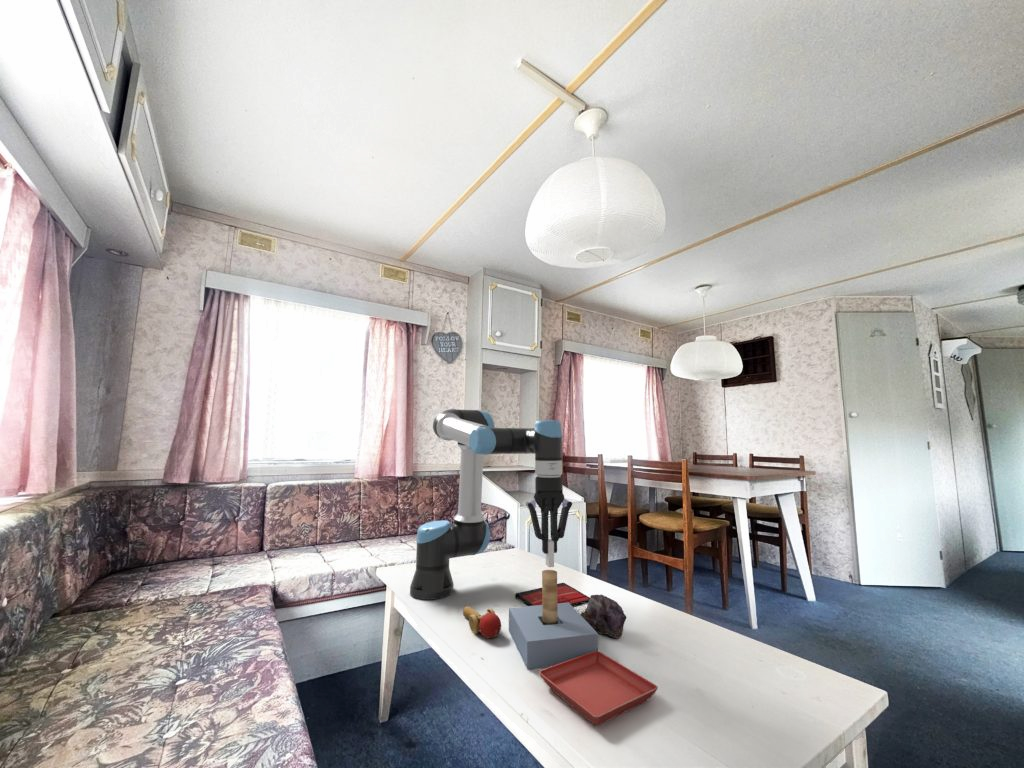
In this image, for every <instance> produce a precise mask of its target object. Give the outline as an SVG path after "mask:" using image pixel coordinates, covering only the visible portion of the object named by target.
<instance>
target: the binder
mask: <svg viewBox="0 0 1024 768" xmlns="http://www.w3.org/2000/svg"><path fill="white" fill-rule="evenodd" d="M514 595H515V596H514V598H515V599H522V600H523V601H524V602H522V603H523V604H524V605H526V606H535V605H542V587H538V588H534V589H529V590H523V591H521V592H516V593H515V594H514ZM589 599H590V596H588V595H587V594H584V593H583V592H581V591H580V590H578V589H576V588H574V587H573V586H570V585H569V584H567V583H565V582H559V583H557V603H568V602H569V603H570V604H571V605H572V607H574V606H576V605H581V604H588V602H589Z"/></svg>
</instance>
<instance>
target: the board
mask: <svg viewBox="0 0 1024 768" xmlns="http://www.w3.org/2000/svg"><path fill="white" fill-rule="evenodd" d="M557 606H558V624H552V625H543V622H542V605H535V606H527V605H526V606H525V605H524V606H515V607H509V608H508V632H509V634H510V636H511V638H512V640H513V643H514V644H515V646H516V648H517V651H518V653H519V655H520V657H521V659H522V661H523V663H524V665H525V668H526V669H527V670H531V669H539V668H541V669H542V668H549V667H551V666H554V665H557V664H560V663H562V662H565V661H568V660H571V659H574V658H576V657H579V656H582V655H585V654H588V653H590V652H593V651H599V632H596V631H595V630H594V629H593V628H592V627H591V626H590V625H589V624H588V622H587V621H586V620H585V619H584V618H583V617H582V616H581V613H579V612H578V611H577V610H576V609H575V608H574V606H572V605H571V604H570V603H569V602H568V603H557Z"/></svg>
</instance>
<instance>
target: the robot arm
mask: <svg viewBox="0 0 1024 768" xmlns="http://www.w3.org/2000/svg"><path fill="white" fill-rule="evenodd" d="M433 419H434V420H433V422H432V429H433V433H434V434H435V435H436V436H437V437H438V438H439V439H441V440H444V441H447V442H450V441H454V442H457V446H458V447H459V448H460V467H459V468H460V469H459V486H458V487H459V489H458V505H457V506H458V508H457V510H458V511H457V514H456V515H454V516H453V523H451V522H450V521H449V520H444V519H442V520H432V521H429V522H426V523H424V524H422V525H420V526H419V527H418V529H417V532H416V533H417V536H416V539H415V541H416V551H415V553H416V558H415V559H416V560H415V561H416V562H415V570H414V571H415V572H414V575H413V578H412V580H411V582H410V586H409V588H410V589H409V594H410V596H411V597H412V598H415V599H418V600H438V599H442V598H446V597H448V596H450V595H452V594H453V593H454V589H455V588H454V587H455V586H454V580H453V577H452V573H451V571H450V559H454V558H460V557H461V558H462V557H466V556H475V555H478V554H481V553H483V552H484V551H486V550H487V548H488V546H489V543H490V539H491V531H490V525H489V524H488V522H487V521H486V520H485V517H484V515H482V498H483V497H482V495H483V493H482V492H483V475H484V474H483V471H484V456H487V455H508V454H509V455H510V454H513V455H516V454H517V455H518V454H525V455H528V454H529V455H531V454H534V456H535V457H534V460H535V463H534V471H535V472H534V473H535V475H536V477H535V478H534V479H535V481H534V483H535V485H534V488H535V491H534V492H535V493H534V495H533V498H532V499H531V500H530V501H527V502H525V506H526V507H527V509H528V510H529V514H530V518H531V523H532V527H533V528H532V529H533V531H534V535H535V537H536V538H537V539H538V540H541V546H542V547H541V549H542V554H545V566H546V567H548V568H555V554H557V553H558V542H559V540H560V539H563V538H564V536H565V531H566V529H567V528H566V527H567V522H568V519H569V518H568V517H569V511H570V509H571V508H572V507H573V502H572V501H569V499H566V498H565V494H564V493H563V489H564V486H563V485H564V483H563V477H562V475H563V432H562V423H561V422H560V421H559V420H557V419H556V420H555V419H549V420H548V419H541V420H536V421H535V423H534V427H532V428H531V427H530V428H528V427H527V428H526V427H525V428H523V427H495V422H494V419H493V416H491V414H490V413H489V412H488V411H485V410H479V409H455V408H451V409H450V408H449V409H446V410H442V411H441V412H440V413H438V414H437V415H436V416H435V418H433ZM537 506H538V508H539V509H540V515H541V516H540V517H541V523H540V521H539V517H538V514H537V510H536V508H537ZM561 506H562V508H561V511H560V516H559V520H558V515H559V512H558V511H559V509H560V507H561ZM549 517H550V519H549ZM549 520H550V524H549ZM540 524H541V525H540ZM549 525H550V526H549ZM540 526H541V527H540ZM549 527H550V528H549ZM549 529H550V538H551V539H550V538H549Z"/></svg>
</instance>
